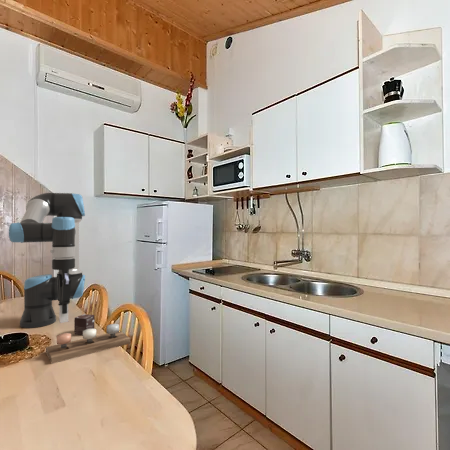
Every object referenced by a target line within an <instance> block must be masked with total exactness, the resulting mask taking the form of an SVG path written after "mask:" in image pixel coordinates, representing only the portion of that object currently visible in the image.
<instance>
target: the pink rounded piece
mask: <svg viewBox="0 0 450 450" xmlns="http://www.w3.org/2000/svg"><path fill="white" fill-rule="evenodd" d="M71 341H72V333H70V332H66V333H65V332H64V333H59V334H57V335H56V345H57V344H61V348H66V347H67V343H69V342H71Z"/></svg>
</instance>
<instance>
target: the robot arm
mask: <svg viewBox="0 0 450 450" xmlns="http://www.w3.org/2000/svg"><path fill="white" fill-rule="evenodd" d="M25 210H26V211H25V212H24V214H23V216H22V218H21V220H20V222H19V221H18V222H12V223H10V224H9V227H8V238H9V241H10V242H11V243H21V244H23V243H52V245H51V247H52V248H51V249H50V253H51V256H52V260H51V268H52V270H55V271H57V272H56V276H53V275H52V274H51V273H47V274H39V275H35V276H31V277H28V278H27V279H25V281H24V285H23V286H24V287H23V292H24V293H23V294H24V295H23V296H24V297H23V298H24V299H23V300H24V302H23V304H24V305H23V307H24V308H23V311H22V315H21V318H20V320H19V326H20V327H21V328H25V329H34V328H40V327H45V326H46V327H47V326H49V325H52V324H54V323H56V321H57V315H56V312H55V310H54V307H53V301H57V302H58V304H57V305H58V306H59V307H58V310H59V314H58V315H59V319H58V320H59V321H58V322H59V323H60V324H62V323H63V324H64V323H67V322H69V304H70V303H71V300H73V299H80V298H81V297H83V294H84V289H85V281H86V275H85V274H83V271H82V270H81V269H80V222H81V221H83V217H85V216H86V213H85V206H84V199H83V196H82V195H81V194H80V193H73V192H72V193H70V192H69V193H68V192H66V193H65V192H64V193H63V192H62V193H61V192H44V193H39V194H38V195H35V196H33V197H32V198H30V199H29V200H28V201H27V203H26V205H25ZM47 216H49V217H50V216H51V217H53V218H52V219H51V221H52V222H44V220H45V217H47Z"/></svg>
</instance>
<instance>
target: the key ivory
mask: <svg viewBox="0 0 450 450" xmlns="http://www.w3.org/2000/svg"><path fill="white" fill-rule="evenodd" d="M96 336H97V329H96V328H94V329H86V330H84V331H83V335H82V339H87V343H91V342H92V338H95V337H96Z"/></svg>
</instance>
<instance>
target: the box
mask: <svg viewBox="0 0 450 450" xmlns="http://www.w3.org/2000/svg"><path fill="white" fill-rule="evenodd" d="M73 322H74V329H73V330H74V335H79V336H80V335H82V336H83V331H84V330H86V329H95V314H88V313H87V314H85V313H84V314H81V315H78V316H76V317H74V319H73Z"/></svg>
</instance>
